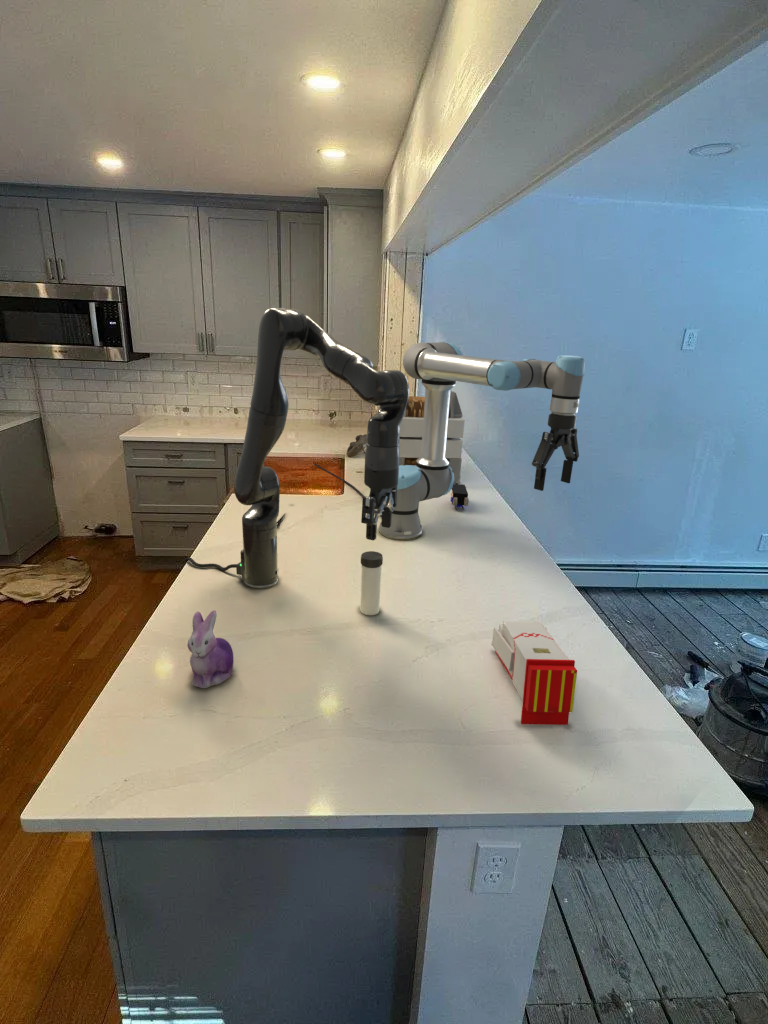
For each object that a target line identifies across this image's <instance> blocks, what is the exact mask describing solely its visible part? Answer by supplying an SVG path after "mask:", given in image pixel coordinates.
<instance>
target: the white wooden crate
mask: <svg viewBox="0 0 768 1024" xmlns="http://www.w3.org/2000/svg"><path fill="white" fill-rule="evenodd" d="M424 404H425V396H415V395H414V396H413V395H412V396H411V395H409V397H408V401H407V405H406V409H405V412H404V416H403V419H402V421H401V424H400V439H399V452H400V459H399V466H401V465H404V466H405V465H413V466H416V461H417V459H418V458H420V457H421V449H422V434H423V419H424ZM464 429H465V419H464V418H463V411H462V408H461V405H460V402H459V398H458V395H457V392H455V391H453V390H451V392H450V404H449V416H448V428H447V441H446V453H445V458H446V459H447V461H448V462H449V466H450V467H451V469H452V473H454V484H460V483H461V472H462V461H463V460H462V453H463V442H464V441H463V440H462V439H463V438H464V431H465V430H464Z"/></svg>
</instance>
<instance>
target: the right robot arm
mask: <svg viewBox="0 0 768 1024" xmlns="http://www.w3.org/2000/svg"><path fill="white" fill-rule="evenodd" d="M585 365H586V360H585V358H584V357H582V356H578V355H566V354H565V355H564V354H563V355H558V356H557V357H556V360H555V361H549V360H541V359H536V358H524V359H521V360H506V359H505V360H504V359H503V360H502V359H496V358H487V357H479V356H471V355H464V354H463V352H462V350H461V349H460V347H459V346H457V345H456V344H455V343H451V342H445V341H443V342H442V341H441V342H440V341H439V342H438V341H437V342H417V343H414V344H412V345H411V346H409V347H408V348H407V350H406V351H405V353H404V355H403V358H402V366H403V369H404V372H405V373H406V374H407V375H408V376H409V377H411V378H412V379H415V380H421V385H422V386H423V387H424V389H425V392H424V397H425V404H424V419H423V434H422V449H421V457H420V458H418V459H417V461H416V466H413V465H401V466H399V477H398V485H397V506H396V507H393V508H394V510H393V512H392V521H391V527H390V528H386V527H382V525H381V524H382V521H381V522H379V526H378V533H379V534H380V535H381V536H382V537H385V538H387V539H389V540H395V541H410V540H415V539H418V538H420V537H421V536H422V535H423V525H422V524H421V518H420V515H419V507H420V506H419V505H420V502H423V501H427V500H431V499H437V498H440V497H443V496H446V495H448V493H450V492H451V491H452V487H453V484H455V483H454V473H452V469H451V467H450V466H449V462H448V461H447V459H446V458H445V453H446V441H447V428H448V416H449V404H450V392H451V391H452V389H453V388H454V387H455V386H456V384H457V382H461V383H465V384H473V385H479V386H487V387H491V388H492V389H494V390H496V391H503V392H504V391H511V390H520V389H532V388H533V389H534V388H539V389H546V390H551V398H550V404H549V413H548V418H547V419H548V420H547V426H548V427H549V428H550V431H549V432H548V431H543V432H542V435H541V440H540V442H539V445H538V447H537V449H536V452H535V454H534V457H533V460H532V461H531V466H533V467H535V475H534V477H535V478H534V485H533V489H534V490H537V491H539V492H543V491H544V489H545V484H546V483H545V482H546V476H547V468H546V466H547V465H548V463H549V461H550V459H551V457H552V456H553V454H554V453H555V451H556V450H557V449H558V448H560V447H561V449H562V452H563V455H564V458H565V459H563V463H562V468H561V469H562V470H561V475H560V482H562V483H566V484H571V478H572V472H573V466H574V463H576V462H578V461H579V457H580V453H579V444H578V428H576V423H577V419H578V416H577V414H578V412H579V411H578V410H579V406H580V397H581V391H582V385H583V380H584V376H585ZM313 465H314V466H316V467H317V468H319V469H320V470H322V471H324V472H325V473H327V474H329V475H331V476H333V477H335V478H337V479H338V480H340V481H341V482H343V483H345V484H346V485H348V486H349V487H350V488H352V489H353V490H355V491H356V493H358V494H359V495H360V496H361V497H362V498H363V497H364V496H365V495H364V494H363V493H362V492H361V491H360V490H359V489H358V488H357V487H356V486H354V485H353V484H351V483H350V482H348V481H347V480H345V479H344V478H342V477H340V476H338V475H336V474H334V473H333V472H331V471H329V470H327V469H325V468H324V467H322V466H321V465H319V464H317V463H314V464H313ZM392 499H393V498H392ZM380 517H381V518H382V515H381V516H380Z"/></svg>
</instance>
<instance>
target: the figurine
mask: <svg viewBox="0 0 768 1024" xmlns="http://www.w3.org/2000/svg"><path fill="white" fill-rule="evenodd" d="M217 617H218V613H217V610H216V609H213V610H212V611H210V612H209V614H208V615H207V616H206V618H205V619H204V617H203V615H202V613H201V612H200V611H196V612H194V614H193V616H192V632H191V634H190V636H189V639H188V640H187V649H188V650H189V652H190V653H191V656H190V659H189V664H190V667H191V671H192V675H193V677H192V683H191V684H192V686H194V687H198V688H201V689H207V688H210V687H213V686H217V685H220V684H222V683H223V682H225V681H226V680H228V679H229V678H230V677H231V676H232V675H233V671H234V650H233V648H232V645H231V643H230V642H229V641H228V640H227V639H225V638H223V637H216V635H215V632H214V628H215V624H216V621H217Z"/></svg>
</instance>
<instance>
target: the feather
mask: <svg viewBox="0 0 768 1024" xmlns="http://www.w3.org/2000/svg"><path fill="white" fill-rule="evenodd" d="M285 515H286V513H283V515H281V517H280V518H279V519H278V520H277V521H276V523H277V524H276V525H277V529H278V528H279V526H280V525H281V522H282V520H283V519H284V517H285Z"/></svg>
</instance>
